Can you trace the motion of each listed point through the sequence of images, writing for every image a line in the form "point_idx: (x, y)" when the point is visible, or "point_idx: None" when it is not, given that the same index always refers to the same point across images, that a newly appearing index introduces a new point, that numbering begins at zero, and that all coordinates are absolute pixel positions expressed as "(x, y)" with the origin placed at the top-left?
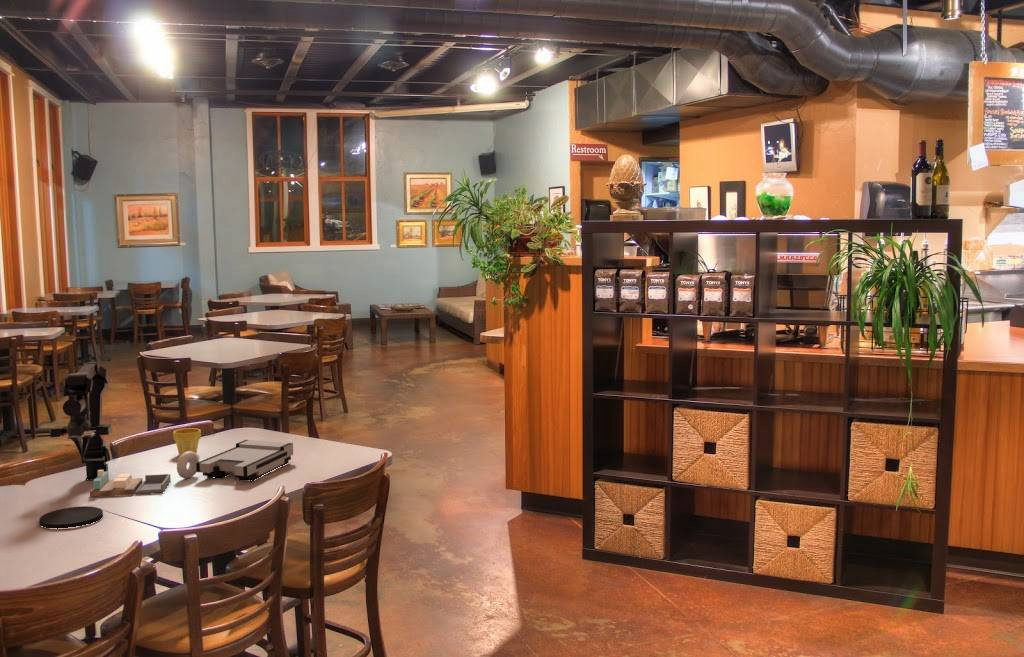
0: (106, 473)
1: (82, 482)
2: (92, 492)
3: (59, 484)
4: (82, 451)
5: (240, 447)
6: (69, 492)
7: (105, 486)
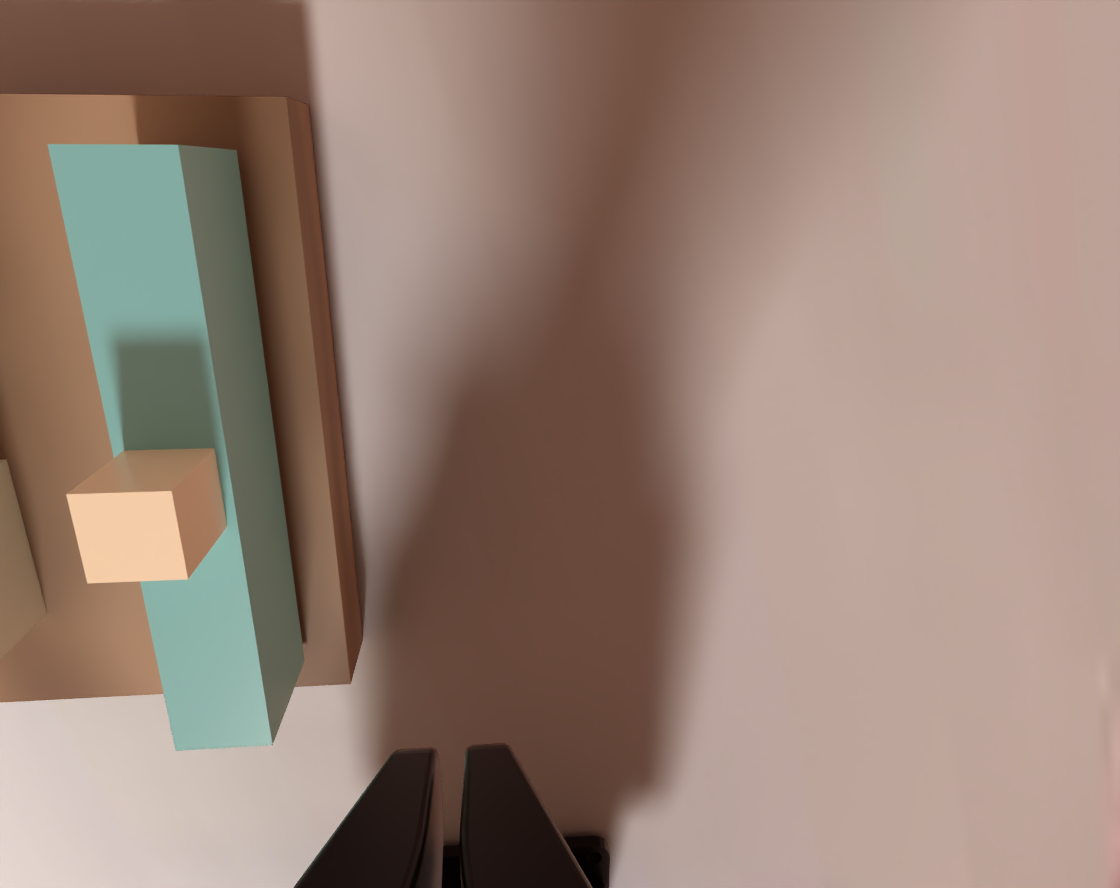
0: (154, 644)
1: (619, 784)
2: (249, 100)
3: (844, 742)
4: (409, 843)
5: None
6: (667, 415)
7: None
